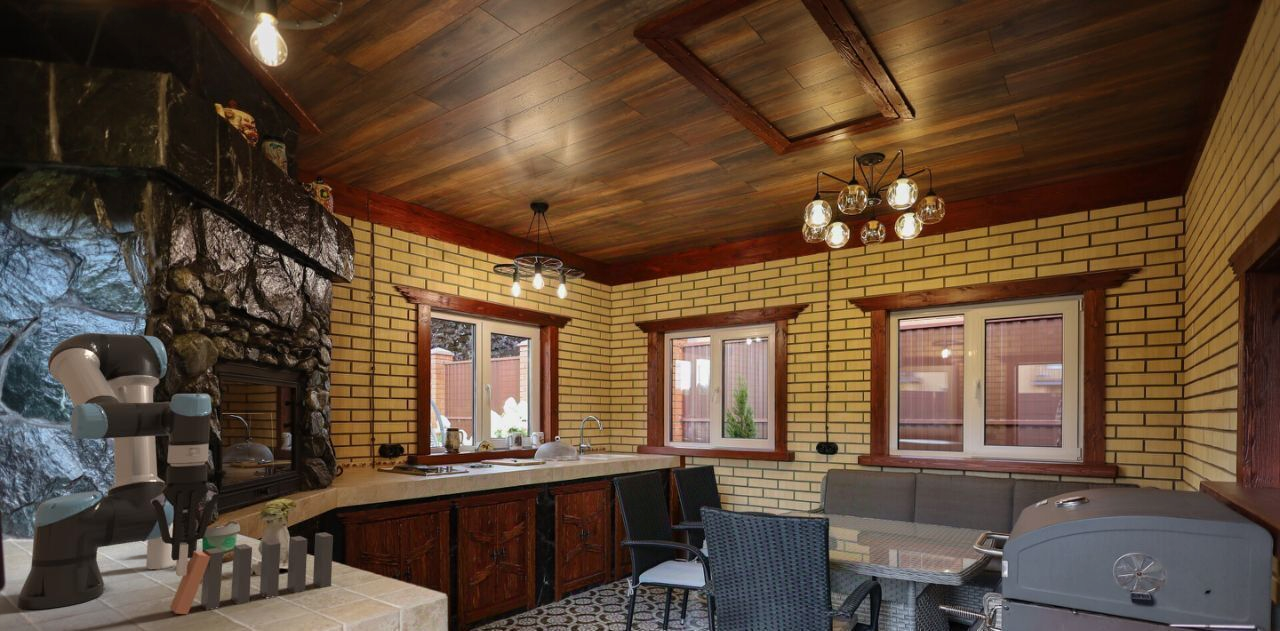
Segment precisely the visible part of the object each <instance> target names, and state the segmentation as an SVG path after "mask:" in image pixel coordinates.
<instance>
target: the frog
mask: <svg viewBox="0 0 1280 631" xmlns="http://www.w3.org/2000/svg"><path fill="white" fill-rule="evenodd" d="M296 508H297V503H296V501H295V500H294V499H289V498H279V499H277V498H276V499H275V500H271V501H268V502H266V503H265V505H264V506H263V508H261V510H260V513H259V516H260V520H261V522H262V521H263V522H267V525H266V526H265V529H264V531H263V534H262V537H261V538H260V539H259V544H258V548H257V550H258V552H259V553H260V556H261V557H262V541H269V540H275V541H277V542H279V543H280V565H279V569H286V571H288V559H289V538H290V537H291V536H290V533H289V532H290V531H289V530H288V527H287V526H286V525H288V522H289V516H290V515H291V514H292V513H293V512H294V511H295V510H296ZM253 562H254V563H251V575H252V574H255V575H256V576H261V561H258V562H257V563H255V562H256V560H255V559H254V560H253ZM254 572H255V573H254Z"/></svg>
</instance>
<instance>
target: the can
mask: <svg viewBox="0 0 1280 631" xmlns="http://www.w3.org/2000/svg"><path fill="white" fill-rule="evenodd" d="M172 529H173V521H172V524H171V526H170V528H169V533H170V537H172ZM171 553H172V544H168V543H165V542H163V541H162V537H160V538H155V539H150V540H147V548H146V564H145V566H146V569H147V570H148V569H161V570H164V569H163V568H167V569H169V568H168V567H170V568H172V567H171V566H173V565H174V566H176V560H172V558H171ZM174 566H173V567H174Z"/></svg>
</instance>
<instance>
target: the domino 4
mask: <svg viewBox="0 0 1280 631" xmlns="http://www.w3.org/2000/svg"><path fill="white" fill-rule="evenodd" d="M260 562H261V575H260V579H259V580H260V582H259V583H260V585H259V594H260V593H261V594H262V595H264V596H265V597H272V596H277V595H278V596H279V584H280V583H279V582H280V568H279V565H280V543H279V542H277V541H275V540H269V541H262V556H261V561H260ZM261 594H260V595H261ZM262 595H261V596H262ZM264 596H263V597H264ZM265 597H264V598H265Z"/></svg>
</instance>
